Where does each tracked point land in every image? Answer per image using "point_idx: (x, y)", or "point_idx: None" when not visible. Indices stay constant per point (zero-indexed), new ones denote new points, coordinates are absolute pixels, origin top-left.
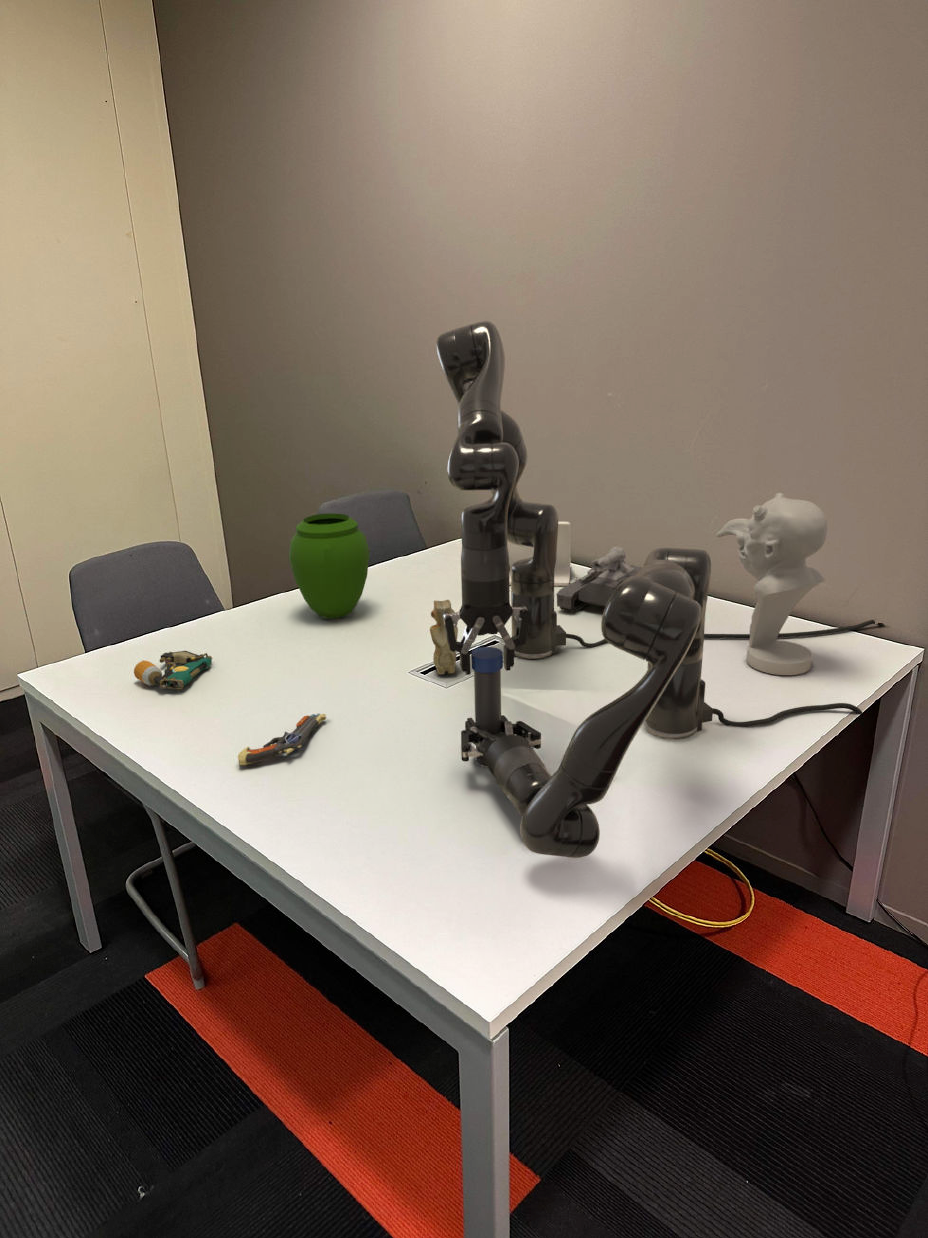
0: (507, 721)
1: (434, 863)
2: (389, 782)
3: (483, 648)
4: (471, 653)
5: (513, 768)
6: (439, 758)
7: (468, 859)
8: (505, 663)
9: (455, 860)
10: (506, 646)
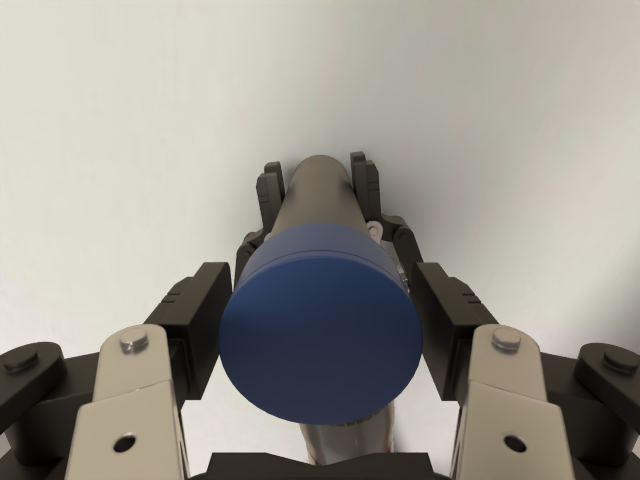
0: (371, 229)
1: (196, 429)
2: (108, 224)
3: (312, 281)
4: (219, 338)
5: (321, 460)
6: (211, 150)
7: (241, 430)
8: (417, 312)
9: (224, 429)
10: (459, 393)
